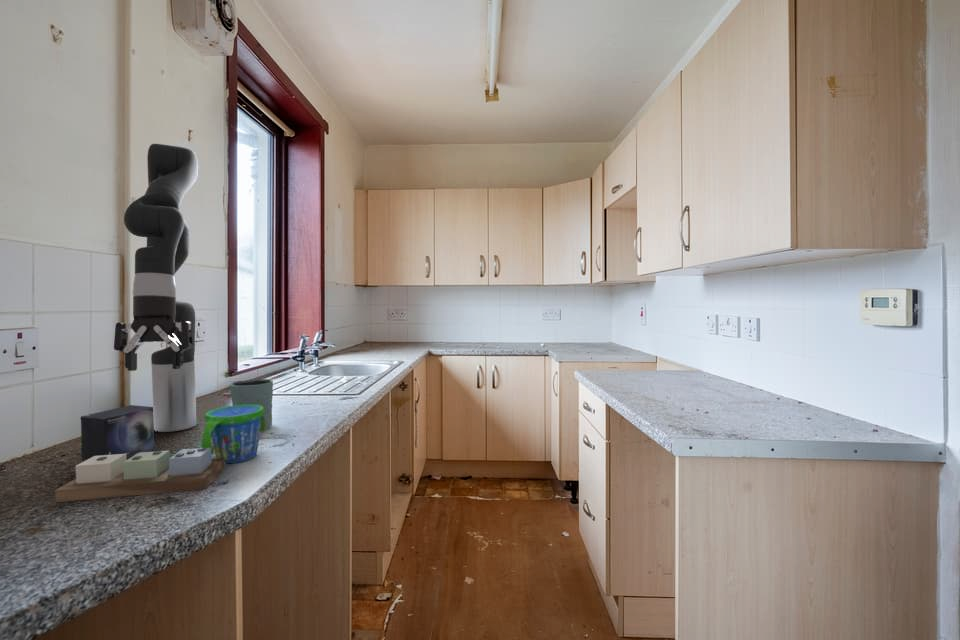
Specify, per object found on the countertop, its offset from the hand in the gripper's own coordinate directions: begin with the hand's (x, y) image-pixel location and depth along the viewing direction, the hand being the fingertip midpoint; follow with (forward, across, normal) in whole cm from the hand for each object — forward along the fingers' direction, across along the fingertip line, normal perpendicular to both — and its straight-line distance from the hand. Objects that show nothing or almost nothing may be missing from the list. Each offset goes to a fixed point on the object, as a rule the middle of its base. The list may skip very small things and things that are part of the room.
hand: (154, 369), depth 95 cm
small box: (+19, +5, +3) cm, 20 cm away
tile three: (+18, -14, +18) cm, 29 cm away
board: (+20, -7, +18) cm, 27 cm away
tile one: (+18, 0, +18) cm, 25 cm away
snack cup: (+19, -18, +7) cm, 27 cm away
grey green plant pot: (+17, -15, -17) cm, 28 cm away
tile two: (+18, -7, +18) cm, 26 cm away
